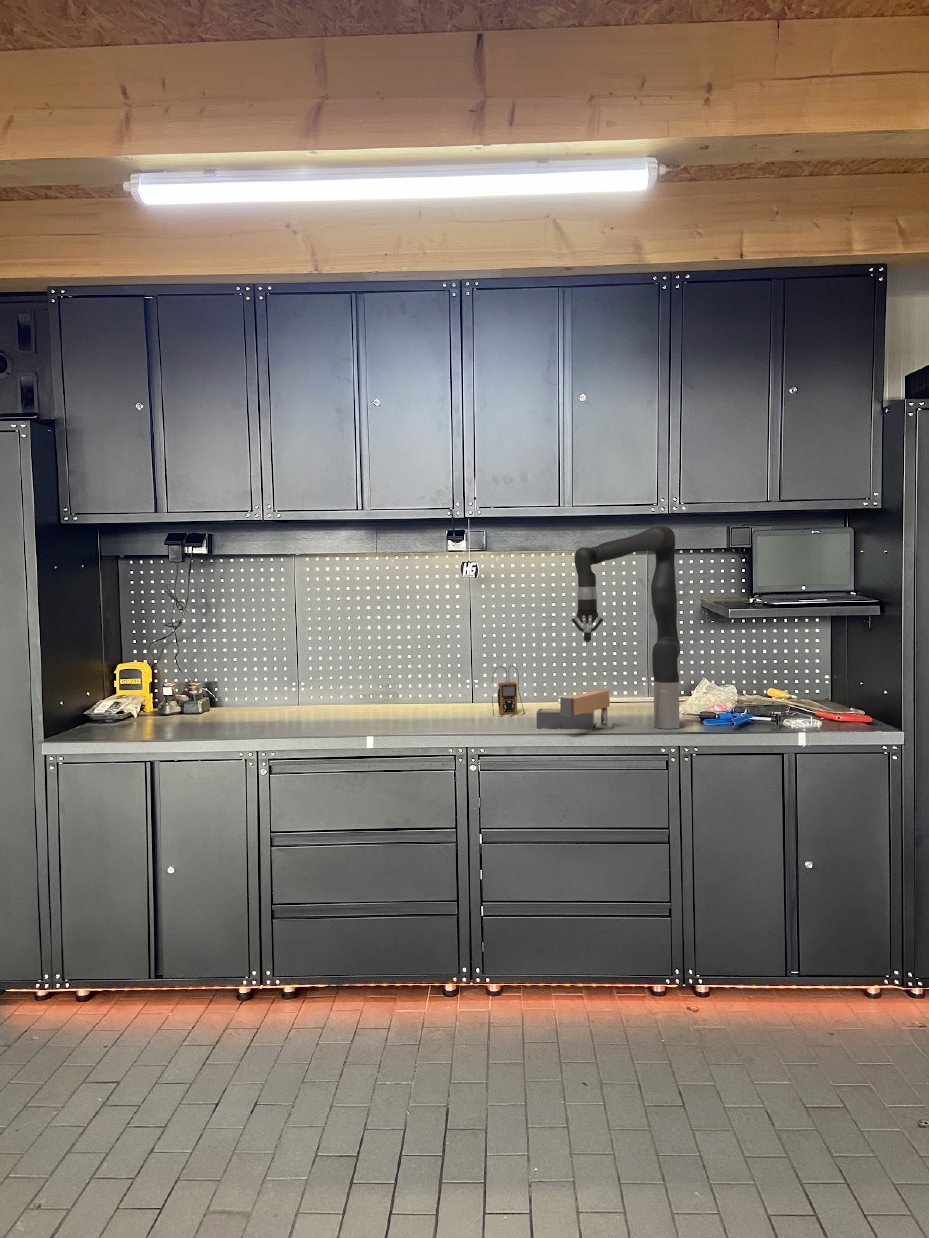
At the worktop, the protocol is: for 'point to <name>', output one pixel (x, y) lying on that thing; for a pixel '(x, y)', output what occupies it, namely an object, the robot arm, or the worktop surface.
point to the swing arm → (584, 703)
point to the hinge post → (604, 720)
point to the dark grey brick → (564, 720)
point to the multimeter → (507, 696)
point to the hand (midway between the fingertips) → (587, 642)
